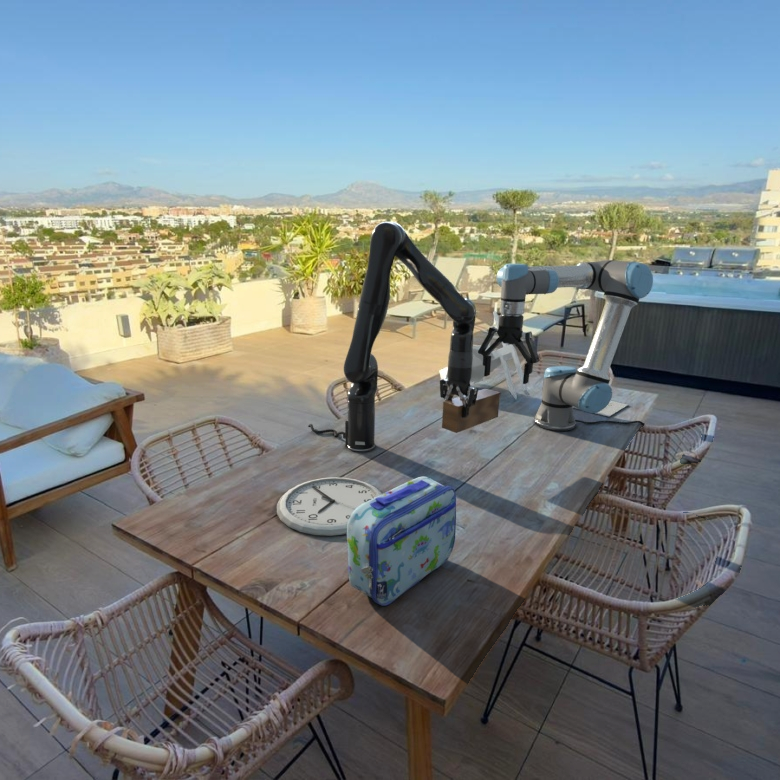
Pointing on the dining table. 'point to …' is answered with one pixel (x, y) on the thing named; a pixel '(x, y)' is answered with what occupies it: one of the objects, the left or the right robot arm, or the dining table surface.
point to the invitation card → (611, 408)
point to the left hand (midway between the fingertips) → (456, 414)
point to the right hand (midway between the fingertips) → (505, 379)
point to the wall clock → (324, 504)
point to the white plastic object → (495, 364)
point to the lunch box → (400, 538)
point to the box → (470, 411)
